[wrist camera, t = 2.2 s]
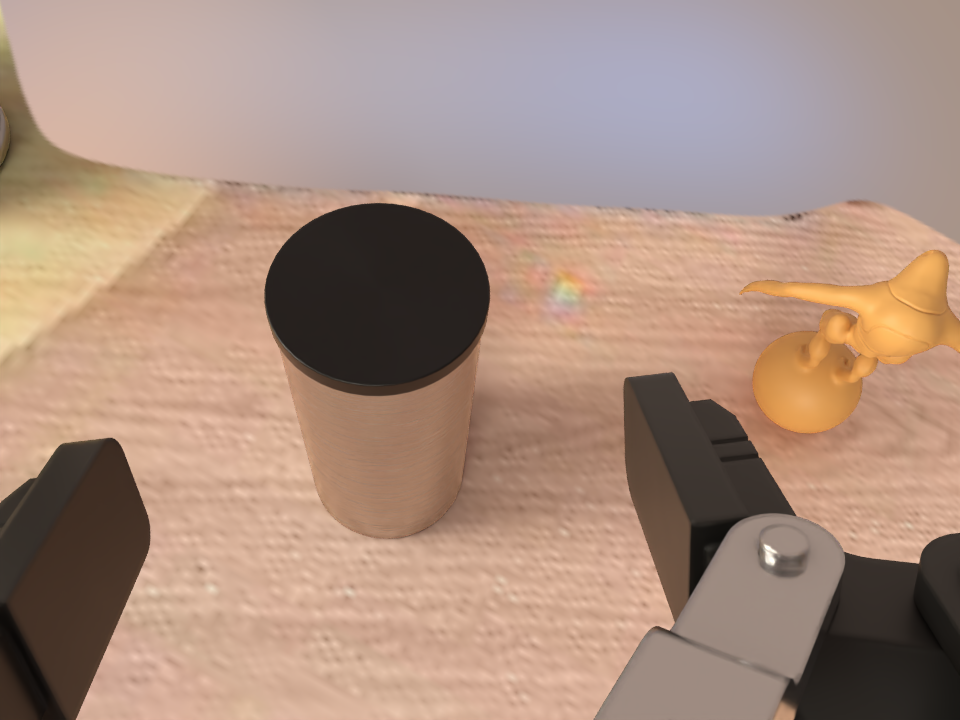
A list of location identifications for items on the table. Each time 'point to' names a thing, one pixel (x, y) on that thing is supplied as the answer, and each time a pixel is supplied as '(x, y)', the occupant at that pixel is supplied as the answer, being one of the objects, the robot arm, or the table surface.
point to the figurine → (851, 342)
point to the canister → (381, 359)
